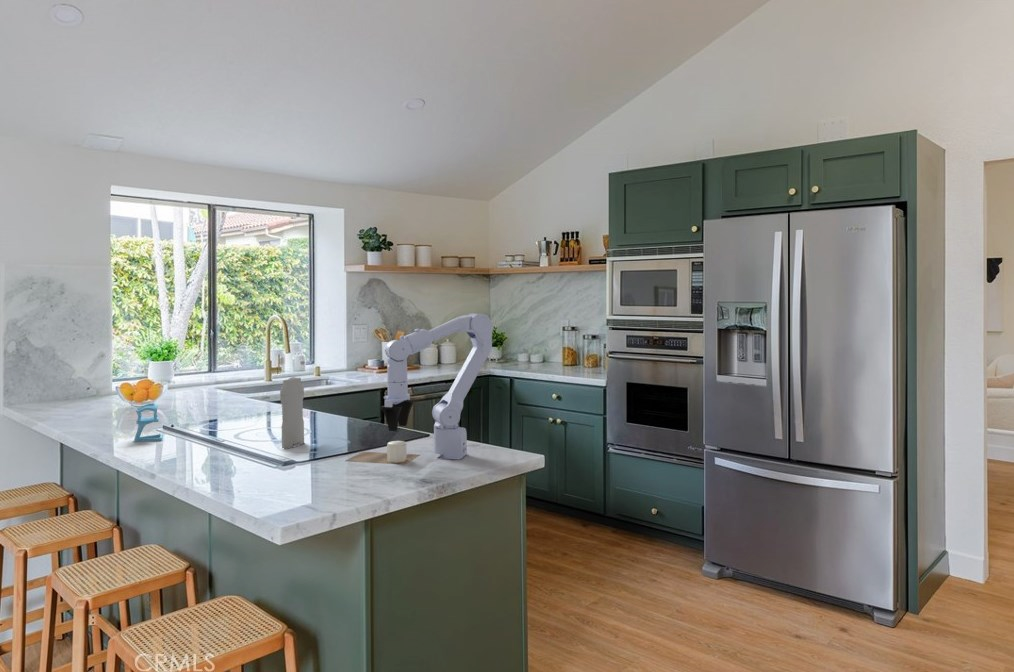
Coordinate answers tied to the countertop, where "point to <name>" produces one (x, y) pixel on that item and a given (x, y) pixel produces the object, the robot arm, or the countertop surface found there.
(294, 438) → the tall pale column
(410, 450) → the countertop surface
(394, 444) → the cap
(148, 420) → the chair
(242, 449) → the countertop surface
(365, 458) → the post board
